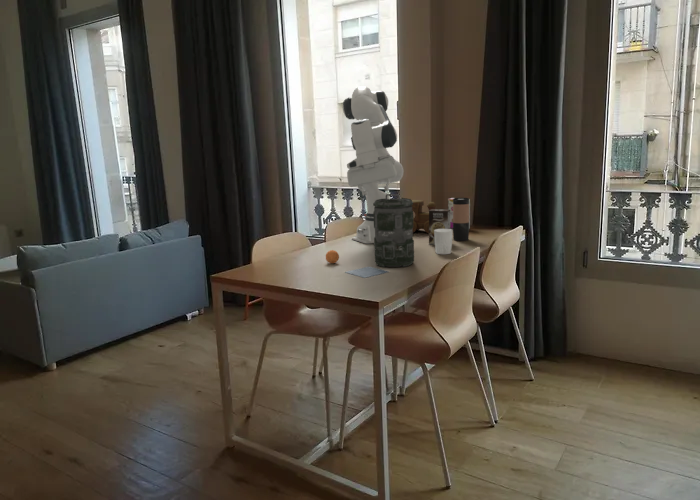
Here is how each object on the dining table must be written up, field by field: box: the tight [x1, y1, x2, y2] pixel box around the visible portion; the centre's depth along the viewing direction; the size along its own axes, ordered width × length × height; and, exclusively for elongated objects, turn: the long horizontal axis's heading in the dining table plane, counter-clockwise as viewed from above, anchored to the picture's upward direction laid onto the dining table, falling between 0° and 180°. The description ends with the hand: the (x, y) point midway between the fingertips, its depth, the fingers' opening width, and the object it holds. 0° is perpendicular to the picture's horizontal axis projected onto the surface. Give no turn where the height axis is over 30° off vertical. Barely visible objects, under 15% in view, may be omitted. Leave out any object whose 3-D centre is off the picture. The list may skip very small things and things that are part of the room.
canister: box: [373, 193, 415, 268], centre depth 212 cm, size 16×16×28 cm
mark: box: [344, 266, 390, 279], centre depth 203 cm, size 12×12×1 cm
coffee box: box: [428, 208, 450, 246], centre depth 250 cm, size 9×6×16 cm
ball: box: [325, 249, 340, 264], centre depth 220 cm, size 6×6×6 cm
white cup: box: [434, 229, 453, 255], centre depth 231 cm, size 8×8×10 cm
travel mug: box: [452, 197, 470, 242], centre depth 257 cm, size 8×8×20 cm
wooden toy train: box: [411, 199, 437, 234], centre depth 283 cm, size 20×11×17 cm, turn 66°
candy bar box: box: [447, 197, 471, 230], centre depth 288 cm, size 11×5×16 cm, turn 46°
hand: (375, 193), depth 219 cm, fingers open, 8 cm apart
